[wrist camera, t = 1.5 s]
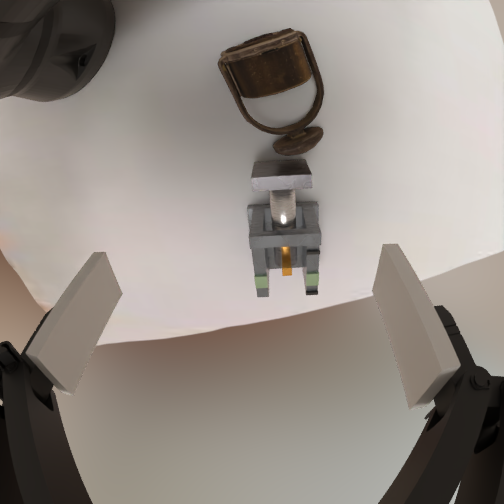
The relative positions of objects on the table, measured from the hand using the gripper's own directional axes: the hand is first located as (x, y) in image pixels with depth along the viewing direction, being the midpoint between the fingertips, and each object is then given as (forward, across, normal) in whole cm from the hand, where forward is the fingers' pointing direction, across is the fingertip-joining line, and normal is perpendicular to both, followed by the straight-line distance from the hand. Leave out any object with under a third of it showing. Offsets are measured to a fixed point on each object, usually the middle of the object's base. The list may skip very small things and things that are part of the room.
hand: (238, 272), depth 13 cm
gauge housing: (+18, +3, -9) cm, 21 cm away
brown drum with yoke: (+19, +2, +7) cm, 20 cm away
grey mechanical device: (+17, +3, -5) cm, 18 cm away
